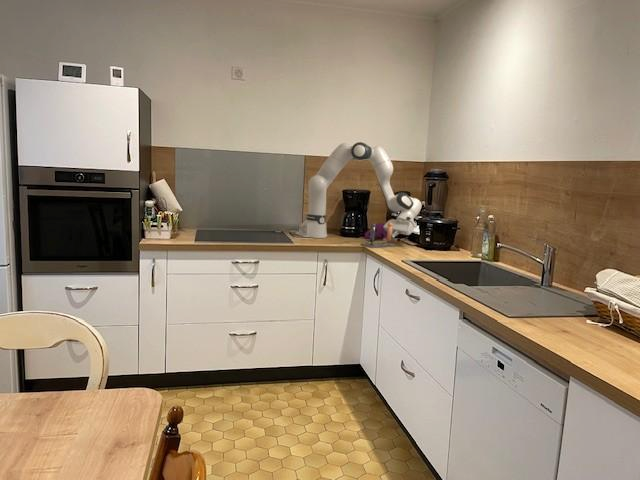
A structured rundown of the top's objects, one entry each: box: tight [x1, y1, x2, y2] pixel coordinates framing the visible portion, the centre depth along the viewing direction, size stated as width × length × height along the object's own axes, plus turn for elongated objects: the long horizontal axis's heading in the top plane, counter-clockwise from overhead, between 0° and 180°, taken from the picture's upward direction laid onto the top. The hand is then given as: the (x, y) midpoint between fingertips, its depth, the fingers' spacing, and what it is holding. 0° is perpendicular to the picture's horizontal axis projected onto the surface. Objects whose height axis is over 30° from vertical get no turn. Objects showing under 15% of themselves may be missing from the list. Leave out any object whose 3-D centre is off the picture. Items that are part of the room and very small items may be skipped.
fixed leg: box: [365, 222, 377, 244], centre depth 276 cm, size 6×3×12 cm, turn 37°
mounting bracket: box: [364, 222, 387, 240], centre depth 314 cm, size 10×8×18 cm
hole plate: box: [360, 240, 397, 249], centre depth 281 cm, size 10×19×2 cm, turn 128°
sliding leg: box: [382, 222, 393, 243], centre depth 285 cm, size 6×3×12 cm, turn 38°
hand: (391, 236), depth 286 cm, fingers closed, pressing on sliding leg
